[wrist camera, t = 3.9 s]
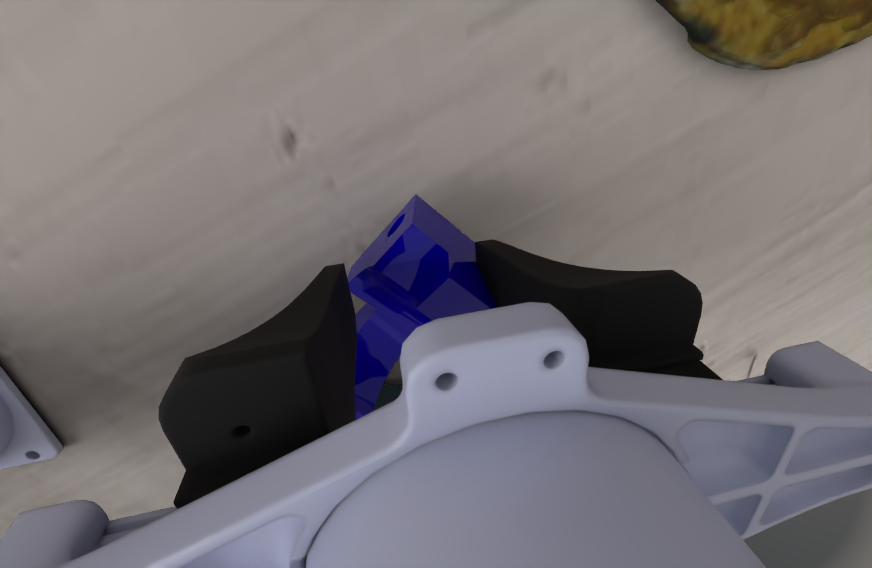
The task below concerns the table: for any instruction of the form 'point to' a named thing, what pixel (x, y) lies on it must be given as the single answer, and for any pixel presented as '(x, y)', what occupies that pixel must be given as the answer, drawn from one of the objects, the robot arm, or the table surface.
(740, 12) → the seal
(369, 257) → the cable holder
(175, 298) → the table surface
